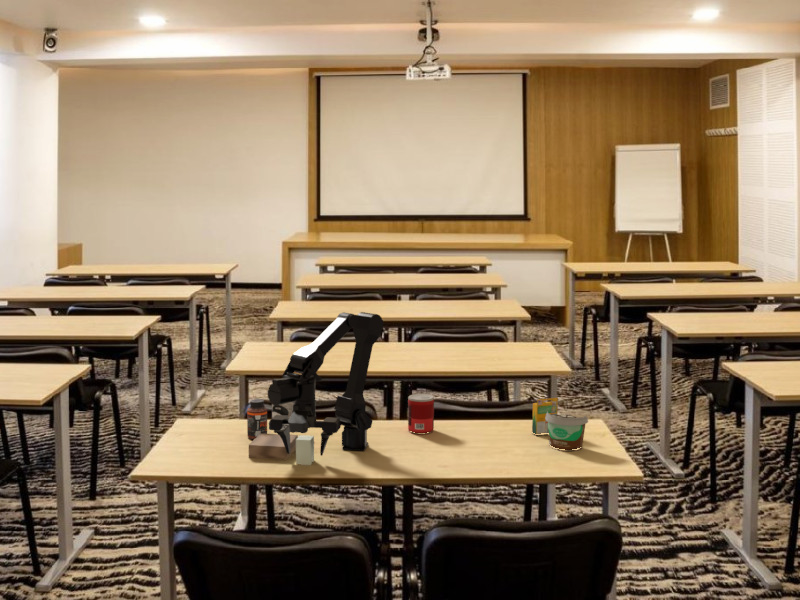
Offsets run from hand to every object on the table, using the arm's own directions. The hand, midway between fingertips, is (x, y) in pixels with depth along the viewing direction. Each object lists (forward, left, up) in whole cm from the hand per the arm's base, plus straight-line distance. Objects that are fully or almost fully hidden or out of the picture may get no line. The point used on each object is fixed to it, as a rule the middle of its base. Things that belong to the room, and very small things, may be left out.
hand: (305, 454), depth 213 cm
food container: (-71, -23, -2) cm, 75 cm away
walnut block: (+11, -7, -3) cm, 13 cm away
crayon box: (-66, -37, -2) cm, 76 cm away
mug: (+16, -38, -2) cm, 41 cm away
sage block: (0, 0, -2) cm, 2 cm away
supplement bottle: (+20, -20, -2) cm, 28 cm away
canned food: (-28, -34, -2) cm, 44 cm away
